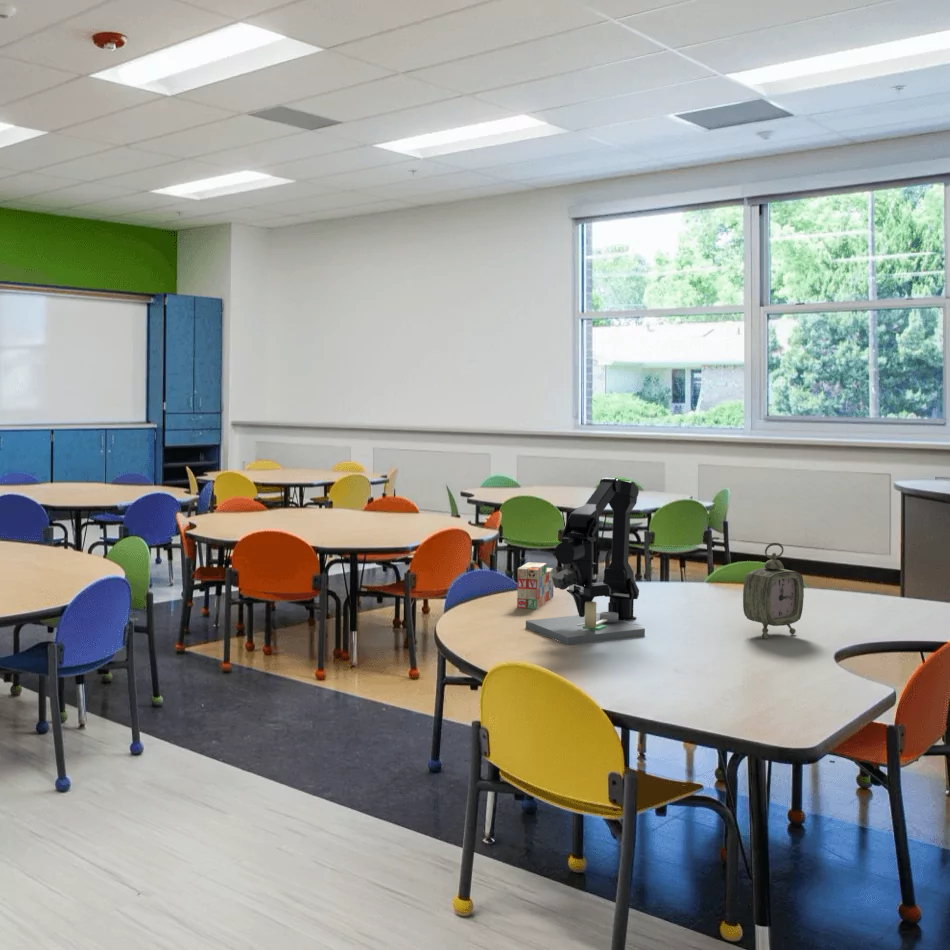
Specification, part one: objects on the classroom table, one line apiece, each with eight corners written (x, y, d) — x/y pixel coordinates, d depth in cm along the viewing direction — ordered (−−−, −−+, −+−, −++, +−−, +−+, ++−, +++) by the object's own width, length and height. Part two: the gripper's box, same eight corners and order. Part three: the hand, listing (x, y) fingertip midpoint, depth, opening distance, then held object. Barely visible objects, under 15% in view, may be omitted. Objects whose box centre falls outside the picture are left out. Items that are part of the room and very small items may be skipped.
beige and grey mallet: (604, 618, 284) (604, 592, 283) (621, 620, 281) (621, 594, 281) (579, 628, 270) (579, 602, 270) (596, 631, 268) (596, 604, 267)
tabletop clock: (765, 641, 268) (767, 546, 266) (739, 634, 275) (741, 542, 274) (802, 634, 275) (805, 542, 274) (776, 628, 283) (778, 538, 281)
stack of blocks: (534, 595, 329) (535, 557, 328) (553, 596, 327) (554, 558, 326) (516, 608, 309) (517, 567, 308) (536, 609, 307) (537, 568, 306)
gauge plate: (598, 619, 292) (599, 611, 292) (644, 636, 273) (644, 626, 272) (525, 627, 282) (525, 618, 281) (567, 644, 262) (568, 635, 262)
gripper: (538, 556, 277) (538, 612, 278) (575, 566, 261) (574, 627, 262) (573, 553, 282) (572, 609, 283) (612, 563, 266) (611, 622, 267)
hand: (581, 616), depth 274 cm, fingers closed
